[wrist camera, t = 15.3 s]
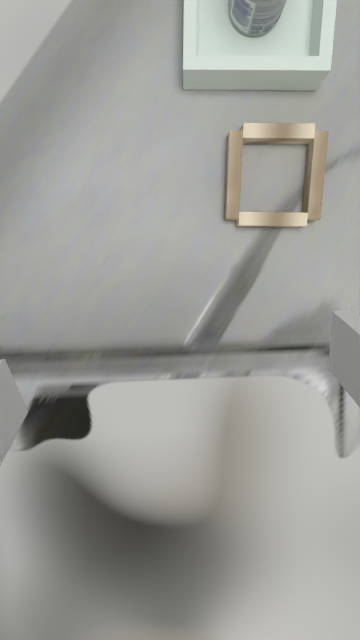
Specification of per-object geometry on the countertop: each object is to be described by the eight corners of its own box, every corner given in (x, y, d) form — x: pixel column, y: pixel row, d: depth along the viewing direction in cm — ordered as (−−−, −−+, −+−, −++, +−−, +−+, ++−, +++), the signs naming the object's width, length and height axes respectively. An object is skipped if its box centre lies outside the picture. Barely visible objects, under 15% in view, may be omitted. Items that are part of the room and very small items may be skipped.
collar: (223, 226, 38) (225, 225, 36) (227, 129, 36) (229, 122, 34) (312, 227, 38) (319, 226, 36) (321, 130, 36) (329, 123, 34)
